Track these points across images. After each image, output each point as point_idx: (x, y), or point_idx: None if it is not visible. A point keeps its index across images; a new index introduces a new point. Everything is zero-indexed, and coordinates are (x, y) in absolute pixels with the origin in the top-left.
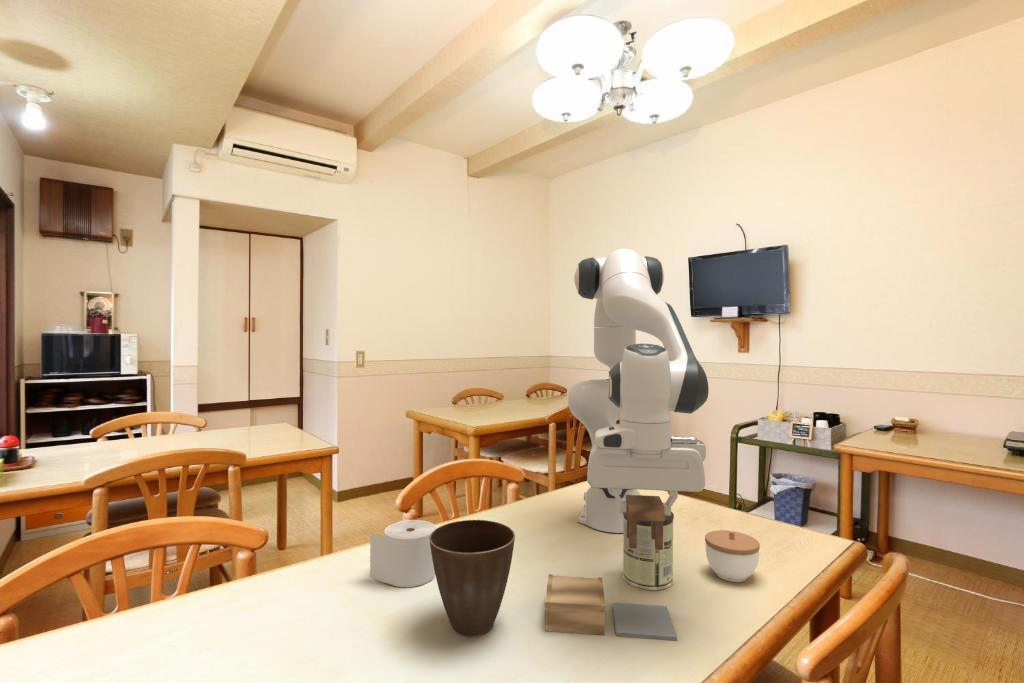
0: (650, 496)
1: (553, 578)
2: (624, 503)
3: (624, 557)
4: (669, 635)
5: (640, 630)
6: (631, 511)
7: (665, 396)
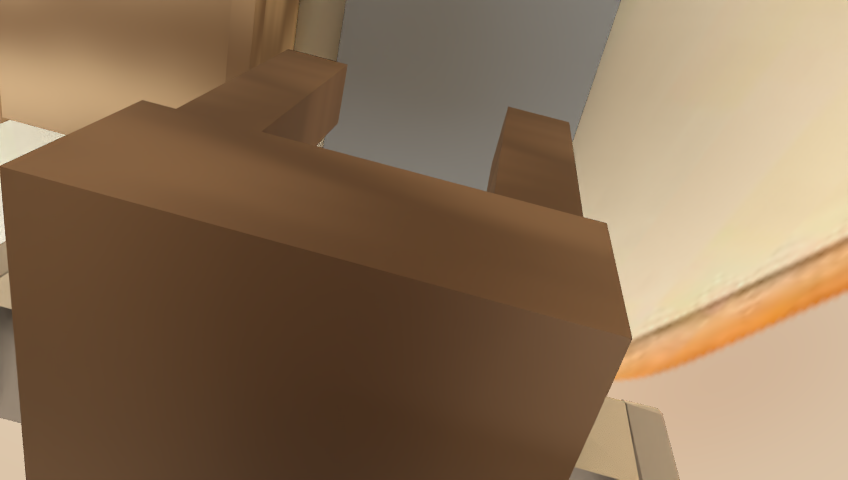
0: (447, 327)
1: None
2: (12, 395)
3: None
4: None
5: (420, 154)
6: None
7: None
